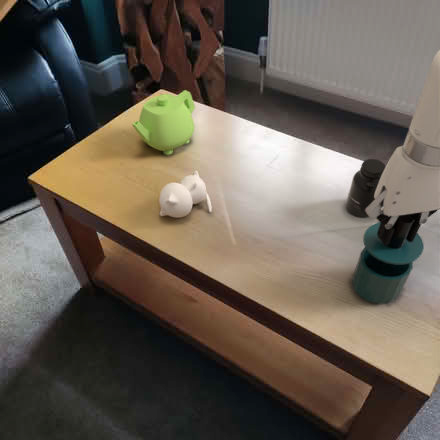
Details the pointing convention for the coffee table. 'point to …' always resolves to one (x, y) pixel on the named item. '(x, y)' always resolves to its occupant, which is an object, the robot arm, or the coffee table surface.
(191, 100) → the teapot
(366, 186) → the supplement bottle
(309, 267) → the coffee table surface
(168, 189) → the cat figurine
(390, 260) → the lid
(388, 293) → the tin
